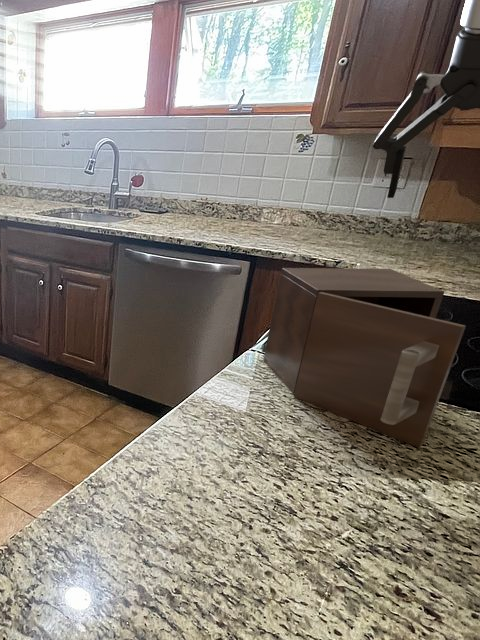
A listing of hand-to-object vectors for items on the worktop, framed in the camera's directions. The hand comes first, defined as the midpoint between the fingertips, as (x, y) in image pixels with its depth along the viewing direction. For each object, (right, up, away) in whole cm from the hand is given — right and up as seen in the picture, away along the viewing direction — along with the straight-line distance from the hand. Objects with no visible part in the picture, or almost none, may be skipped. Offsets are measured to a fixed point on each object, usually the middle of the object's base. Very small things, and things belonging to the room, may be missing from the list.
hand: (450, 195), depth 74 cm
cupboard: (-5, -26, +19) cm, 33 cm away
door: (-13, -33, +4) cm, 36 cm away
